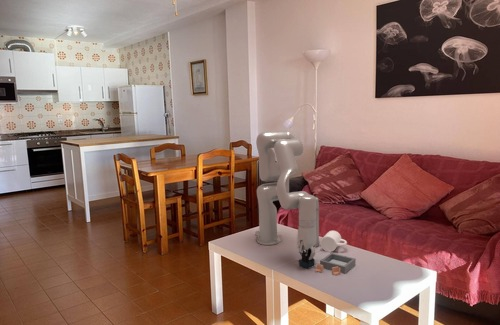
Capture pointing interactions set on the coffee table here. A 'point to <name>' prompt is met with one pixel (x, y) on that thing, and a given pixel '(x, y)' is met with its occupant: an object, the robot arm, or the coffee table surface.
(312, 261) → the watch
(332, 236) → the mug
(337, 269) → the clip
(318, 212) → the water bottle
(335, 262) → the holder
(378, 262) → the coffee table surface
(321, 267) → the clip
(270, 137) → the robot arm
